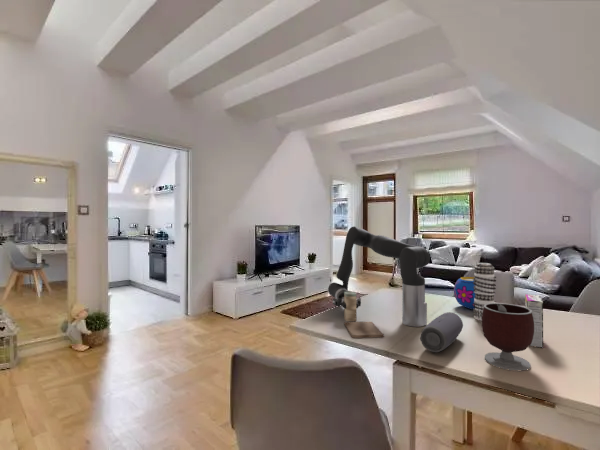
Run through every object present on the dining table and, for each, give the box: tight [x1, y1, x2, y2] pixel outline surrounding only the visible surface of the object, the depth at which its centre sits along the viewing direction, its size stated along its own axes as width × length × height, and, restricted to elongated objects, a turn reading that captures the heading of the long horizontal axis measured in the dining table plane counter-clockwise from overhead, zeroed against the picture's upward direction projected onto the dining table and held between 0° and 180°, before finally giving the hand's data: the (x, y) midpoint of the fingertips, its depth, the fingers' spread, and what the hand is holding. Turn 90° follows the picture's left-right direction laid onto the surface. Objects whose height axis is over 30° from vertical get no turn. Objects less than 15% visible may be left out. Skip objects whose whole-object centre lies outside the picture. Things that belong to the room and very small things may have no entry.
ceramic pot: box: [453, 276, 475, 310], centre depth 166 cm, size 18×18×15 cm
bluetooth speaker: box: [419, 311, 464, 353], centre depth 117 cm, size 23×9×10 cm, turn 141°
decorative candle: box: [473, 262, 497, 321], centre depth 149 cm, size 9×9×25 cm
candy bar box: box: [524, 293, 544, 349], centre depth 120 cm, size 11×5×16 cm, turn 148°
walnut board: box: [343, 321, 384, 339], centre depth 133 cm, size 12×16×1 cm
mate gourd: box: [481, 302, 534, 371], centre depth 102 cm, size 16×14×20 cm
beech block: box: [343, 291, 357, 322], centre depth 148 cm, size 4×5×12 cm
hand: (351, 306), depth 146 cm, fingers closed on beech block, 4 cm apart
